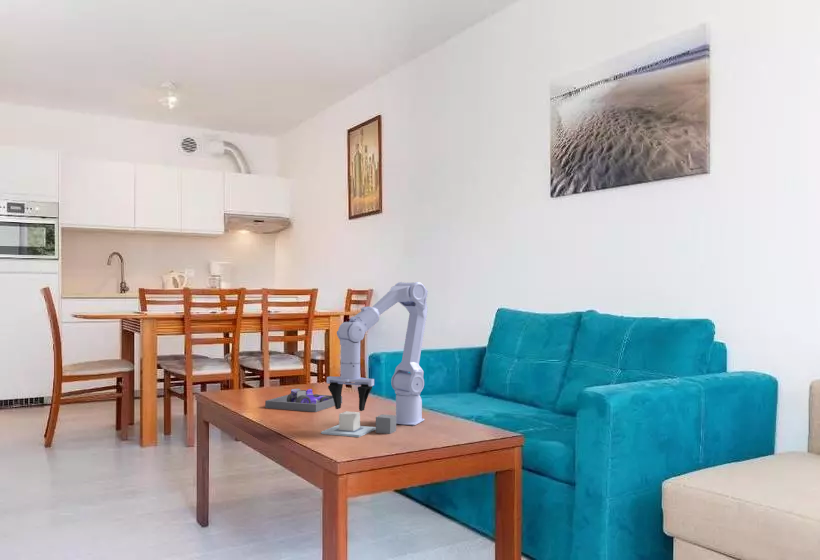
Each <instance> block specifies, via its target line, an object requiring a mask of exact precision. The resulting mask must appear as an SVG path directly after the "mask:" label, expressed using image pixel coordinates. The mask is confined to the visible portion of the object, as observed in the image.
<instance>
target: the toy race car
mask: <svg viewBox="0 0 820 560" xmlns="http://www.w3.org/2000/svg"><path fill="white" fill-rule="evenodd" d="M313 394H314V392H313V389H312V388H308V389H300V388H298V387H297V388H291V389H290V393H289V394H287V395H288V397H287V402H295V403H308V404H316V403H320V402H323V401H326V400H329V399H330V398H329V397H326V396H321V395H322V394H318V393H315V395H313Z"/></svg>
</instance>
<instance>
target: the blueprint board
mask: <svg viewBox="0 0 820 560" xmlns="http://www.w3.org/2000/svg"><path fill="white" fill-rule="evenodd" d="M373 431H376V426H368V425H367V426H365V425H360V428H359V429H357V430H355V431H347V430H339V424H337V425H334V426H332V427H329V428H326V429H325V430H324V429H323V430H322V431H320V432H321V433H320V434H323V435H330V436H331V435H332V436H341V437H342V436H343V437H351V438H352V437H353V438H361V437H362V436H364V435H365V436H366V435H367V434H370V433H372V432H373Z"/></svg>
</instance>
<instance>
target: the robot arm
mask: <svg viewBox="0 0 820 560" xmlns="http://www.w3.org/2000/svg"><path fill="white" fill-rule="evenodd" d="M428 292H429V291H428V289H427V288H426V287H425V285H424V284H423V283H422V282H420V281H415V282H405V281H404V282H402V281H398V282H397V283H395V285H393V286H391V287H390V289H389V291H388V292H387V293H386V294H384V295H383V296H382V297H381V298H380V299H379V300H378V301H377V302H376V303H375V304H374V305H373V306H362V307H361V308H360V311H359V312H358V313H357V314H356V315H354V316H351V317H350V318H349V320H348V321H344V322H342V323H341V324H340V325H339V327H338V330H337V331H336V336H337V339H339V345H340V376H330V375H329V376H327V377H326V385H327V384H328V387H327V389H328V390H329V392H330V394H331V396H332V397H333V400H334V403H335V406H334V408H335V410H339V409H341V408H342V403H341V396H342V391H343V386H344V385H348V386H349V385H350V386H351V385H352V386H357V393H358V412H363V411H364V410H365V408H366V403H367V400H368V398H369V395H370V393H371V390H373V386H375V378H368V377H367V378H366V377H361V341H363V340H364V338H365V335H366V333H367V331H369V330H370V329H371V328H372V327H374V326H375V325H376V324H377V323H378V322H379V321H380V316H381V315H383V314H384V313H385V312H386V311H388V310H389V309H391V308H392V307H393V306H394V305H396V304H397V303H399V304H400V305H402V306H403V307H404V308H405V309H406V310H407V312H408V313H409V316H408V319H407V320H408V321H407V328H406V334H405V339H404V340H405V341H404V345H403V352H402V359H401V362H400V363H399V364H398V365H397V366H396V367H395V370H394V373H393V375H392V377H391V380H390V381H391V382H390V383H391V387H392V389H393V390H394V394H395V415H396V425H405V426H406V425H408V426H416V425H418V424H421V423H422V422H424V421H425V418H423V414H422V413H423V400H422V397H421V396H420V395H421V392H422V391H423V389H424V388H425V387H424V386H425V379H424V373H425V372H424V370H423V368H422V367H421V366H420V360H421V352H422V349H423V348H422V347H423V341H424V335H425V328H426V321H427V315H428V304H427V303H428V302H427V297H428V294H429V293H428Z"/></svg>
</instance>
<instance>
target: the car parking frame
mask: <svg viewBox="0 0 820 560" xmlns="http://www.w3.org/2000/svg"><path fill="white" fill-rule="evenodd" d="M315 394H316V393H315ZM315 394H314V393H313V395H315ZM288 395H289V394H286V395H282V396H278V397H274V398H270V399H267V400H265V405H264V408H265V409H275V410H286V411H287V410H289V411H298V412H311V413H317V412H320V411H323V410H326V409H328V408H332V407H335V403H334V400H333V397H332V394H331V395H330V394H329V395H327V394H320V395H321V396H326V397H329V398H330V399H329V400H326V401H323V402H320V403H316V404H308V403H295V402H287V397H288ZM341 404H343V396H342V395H341Z"/></svg>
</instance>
